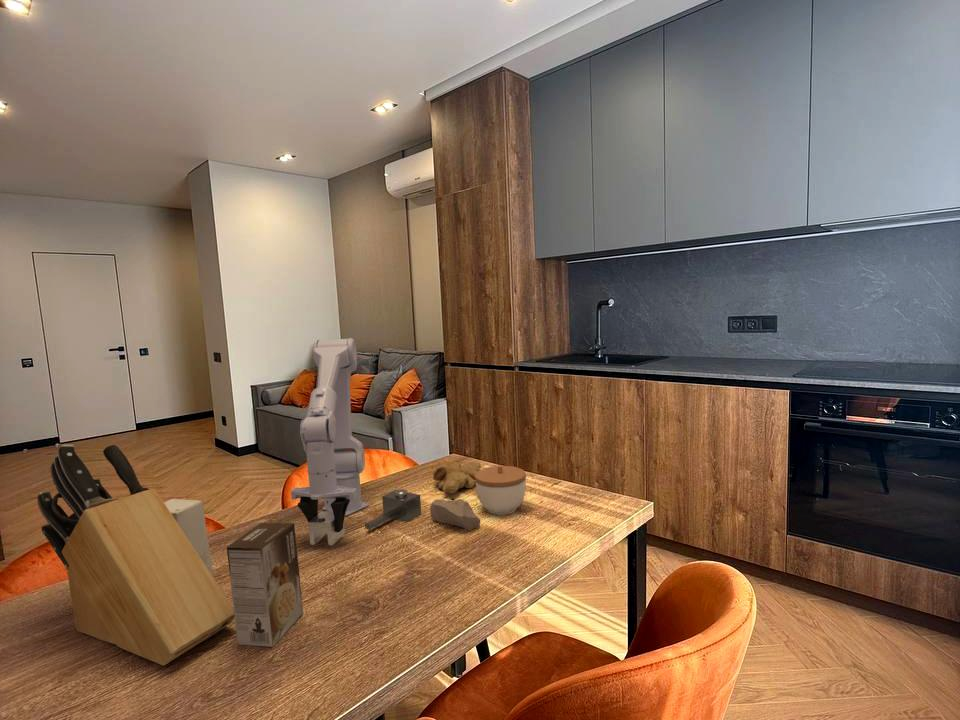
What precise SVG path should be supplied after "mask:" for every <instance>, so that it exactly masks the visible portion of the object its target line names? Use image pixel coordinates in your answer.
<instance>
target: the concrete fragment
mask: <svg viewBox="0 0 960 720" xmlns="http://www.w3.org/2000/svg"><path fill="white" fill-rule="evenodd" d="M429 509H430V510H429V511H430V515H431V520H432V521H435V522H438V523H441V524H448V525H453V526H457V527H458V528H463V529H465V530H467V531H471V530H473V529H479V528H480V526H481V525H480V524H481V519H480V517H478V515H476V513H475V511H474V510H473V508H472V507H471V505H470V504H469V502H467V501H466V500H464V499H463V498H459V499H456V498H454V497H450V498H448V500H445V499H442V498H441V499H438V498H437V499H434V500H433V501H432V502H431V504H430V508H429Z"/></svg>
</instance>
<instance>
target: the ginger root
mask: <svg viewBox="0 0 960 720" xmlns="http://www.w3.org/2000/svg"><path fill="white" fill-rule="evenodd" d="M481 467H482V465H481V463H480V462H470V463H467V464H464V465H462V463H460V462H459V463H458V462H450V463H449V462H448V463H446V464H442V465H439V466H437V467H435V468H436V469H435V470H434V471H433V472H432V476H433V477H432V480H434V481H437V482H438V486H437V488H439V489H440V490H442V492H444V493H447V494H454V493H456V492H457V491H458V490H459V489H462V488H465V489H471V488H473V487H474V486H475V474H476V473H477V472H478V471H479V470H482V469H481Z"/></svg>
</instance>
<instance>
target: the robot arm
mask: <svg viewBox="0 0 960 720" xmlns="http://www.w3.org/2000/svg"><path fill="white" fill-rule="evenodd" d="M357 353H358V352H357V343H356V342H355V339H353V338H352V337H349V338H341V339H340V338H337V339H321V340H320V339H316V340H315V341H314V342H313V345H312V358H313V360H314V363H315V366H316V368H318V375H317V376H318V377H317V387H316V388H314V389H313V390H312V391H311V393H310V398H309V403H308V409H307V413H306V416H305V418H303V419H301V422H300V427H299V428H300V429H299V430H300V431H299V433H300V434H299V435H300V441H301V442H302V446H303V447H302V448H303V451H304V452H305V454H306V463H307V475H308V484H309V485H308V486H305V487H294V488H293V489H291V490H290V497H291V500H297V499H299V502H297V508H298V509H299V510H300V512H302V514H303V516H304V517H305V519H306V521H307V523H308V522H309V521H310V520H312V519H313V518H314V517H315V516H316V515H317V514H319V512H318V511H319V510H318V508H319V500H322V499H323V501H324V502H323V503H324V506H323V507H322V511H333V514H334V519H335V529H336V532H340V531H341V530H342V529H343V523H344V524H345V517H346V516H347V517H348V516H349V515H352V514H354V513H356V512H358V511H360V510H362V509H364V508H366V507H369V506H370V503H368V502H364V501H363V500H362V492H361V491H362V490H361V489H362V488H361V477H360V476H361V475H360V474H362V473H363V472H364V470H365V467H366V465H365V464H366V460H365V459H366V456H365V452H364V444H363V443H362V442H361V441H360V440H358V439H357V438H356V437H354V436H353V433H352V432H353V431H352V411H351V410H352V409H351V407H352V404H351V374H352V373H353V372H356V370H357V366H358V354H357Z"/></svg>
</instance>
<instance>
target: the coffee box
mask: <svg viewBox="0 0 960 720" xmlns="http://www.w3.org/2000/svg"><path fill="white" fill-rule="evenodd" d="M226 554H227V563H228V570H229V571H228V572H229V579H230V588H231V589H230V590H231V597H232V607H233V608H234V615H235V618H234V621H235V631H236V632H235V633H236V640H237V644H238V645H240V646H253V647H266V648H267V647H269V648H272V647H275V645H277V643H278V642H279V641H280V640H281V639H282V638H283V636H285V634H286V633H287V632H288V630H289V629H291V628H292V626H293V625H294V624H295V623H296V622H297V621H298V620H299V618H300V617H301V615H303V614H304V608H303V598H302V597H303V596H302V589H301V588H302V586H301V578H300V568H299V567H300V566H299V558H298V549H297V537H296V528H295V523H294V522H260V523H258V524H257V525H256V526H254V527H253V528H252V529H250V530H249V531H247V532H246V533H245V534H243V535H241V536H240V537H239V538H238V539H236V540H235V541H233V542H232V543H230V544H229V545H227V546H226Z"/></svg>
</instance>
